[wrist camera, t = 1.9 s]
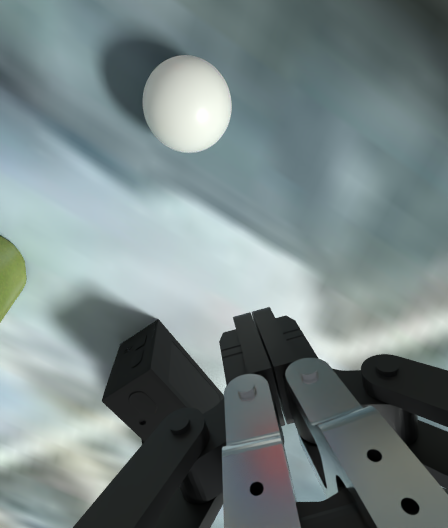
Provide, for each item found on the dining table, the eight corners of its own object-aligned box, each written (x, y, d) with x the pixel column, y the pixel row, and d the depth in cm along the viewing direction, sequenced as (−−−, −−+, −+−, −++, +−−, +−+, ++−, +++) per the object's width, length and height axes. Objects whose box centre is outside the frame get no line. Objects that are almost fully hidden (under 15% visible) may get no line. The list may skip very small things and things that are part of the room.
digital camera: (107, 350, 30) (85, 409, 23) (157, 317, 29) (149, 368, 22) (177, 422, 33) (175, 491, 27) (223, 394, 33) (233, 458, 26)
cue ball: (215, 56, 23) (224, 31, 18) (234, 140, 25) (246, 140, 20) (136, 77, 23) (122, 58, 18) (161, 160, 25) (154, 164, 20)
